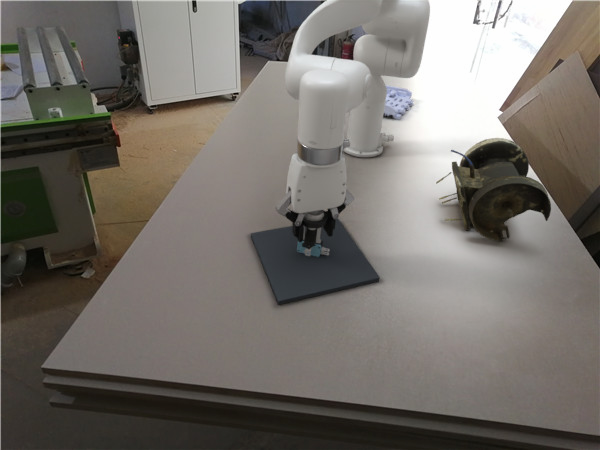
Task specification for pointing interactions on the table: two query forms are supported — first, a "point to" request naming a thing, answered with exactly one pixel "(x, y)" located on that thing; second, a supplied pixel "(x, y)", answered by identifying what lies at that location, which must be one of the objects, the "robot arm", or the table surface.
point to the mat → (311, 264)
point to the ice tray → (397, 101)
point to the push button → (313, 234)
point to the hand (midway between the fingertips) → (313, 234)
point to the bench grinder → (496, 187)
